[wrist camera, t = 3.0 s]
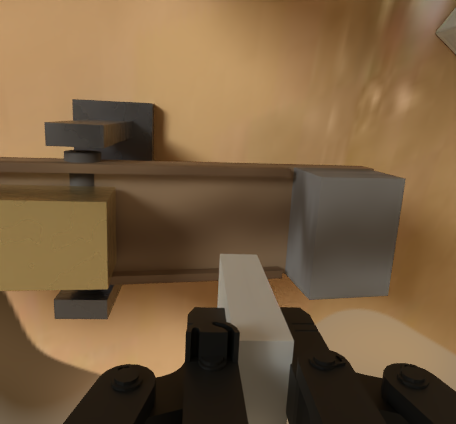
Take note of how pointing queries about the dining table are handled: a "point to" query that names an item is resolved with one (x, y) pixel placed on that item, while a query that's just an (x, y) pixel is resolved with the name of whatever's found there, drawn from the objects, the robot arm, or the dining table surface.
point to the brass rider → (57, 237)
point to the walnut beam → (239, 218)
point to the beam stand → (110, 150)
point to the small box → (448, 31)
